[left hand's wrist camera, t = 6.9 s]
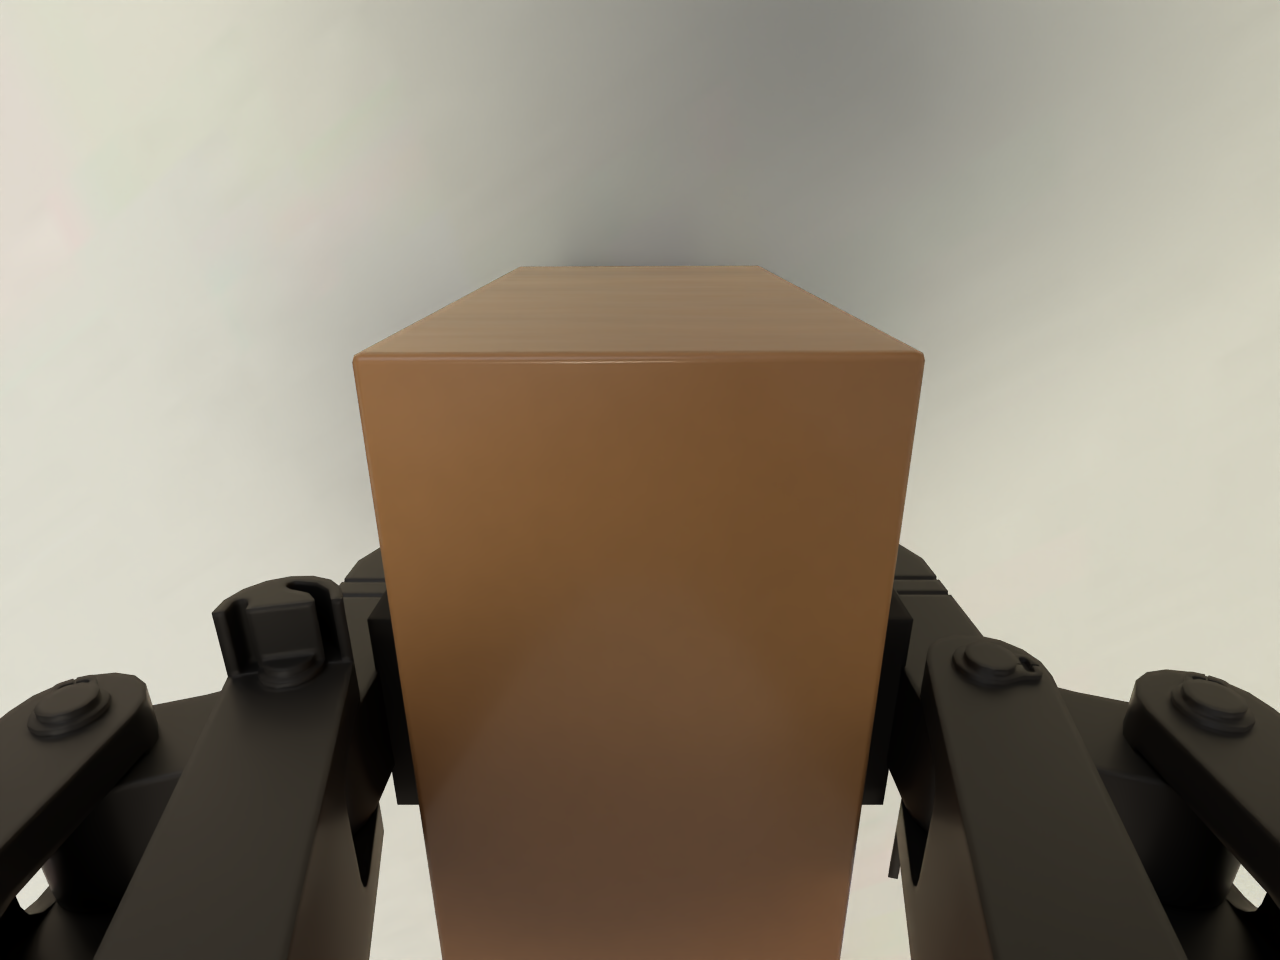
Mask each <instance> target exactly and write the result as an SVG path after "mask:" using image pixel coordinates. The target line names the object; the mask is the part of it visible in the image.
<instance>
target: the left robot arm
mask: <svg viewBox="0 0 1280 960" xmlns="http://www.w3.org/2000/svg"><path fill="white" fill-rule="evenodd" d="M212 616H213V620H214V624H215V628H216V632H217V636H218V640H219V644H220V647H221V651H222V655H223V659H224V663H225V667H226V671H227V675H228V678H227V680H226V682H225V684H224V686H223V688H222V690H221V691H219V692H216V693H212V694H208V695H203V696H198V697H193V698H188V699H183V700H178V701H172V702H167V703H162V704H157V705H152V703H151V699H150V696H149V693H148V690H147V686H146V684H145V683H144V682H143V681H141V680H140V679H139V678H138V677H136V676H135V675H128V674H121V673H108V674H98V675H87V676H83V677H78V678H77V679H75V680H74V679H71V680H68V681H64V682H61V683H59V684H57V685H55V686H54V687H52V688H50V689H47V690H45V691H43V692H41V693H38V694H36V695H34V696H32V697H31V698H29V699H27V700H26V701H24V702H23V703H21V704H20V705H18V706H17V707H15V708H14V709H12V710H11V711H9V712H8V713H7V714H5V715H4V716H3V717H2V718H0V960H369V956H370V947H371V938H372V930H373V921H374V912H375V904H376V895H377V886H378V878H379V869H380V861H381V852H382V843H383V835H384V829H383V822H382V816H381V810H380V805H379V800H380V798H381V796H382V793H383V791H384V789H385V786H386V784H387V782H388V779H389V777H390V775H391V772H392V774H393V780H394V786H395V792H396V798H397V804H398V805H419V801H418V794H417V787H416V781H415V774H414V767H413V761H412V754H411V748H410V741H409V734H408V728H407V721H406V714H405V708H404V701H403V695H402V688H401V681H400V675H399V668H398V661H397V655H396V648H395V642H394V635H393V628H392V622H391V615H390V608H389V602H388V595H387V589H386V582H385V575H384V569H383V562H382V555H381V549H380V548H378V549H377V550H375V551H374V552H372V553H370V554H369V555H367V556H365V557H364V558H362V559H361V560H359V561H358V562H357V563H356V565H355V566H354V567H353V568H352V570H351V571H350V572H349V574H348V575H347V576H346V578H345V582H342V583H341V584H340V585H337V584H336V583H335V582H333V581H332V580H330V579H325V578H320V577H316V576H290V577H285V578H280V579H274V580H269V581H265V582H262V583H259V584H257V585H254V586H251V587H248V588H245V589H243V590H241V591H239V592H238V593H236V594H234V595H232V596H231V597H229V598H227V599H225V600H224V601H223V602H222V603H221V604H220V605H219V606H218V607H217V608H216V609H215V610H214V611H213V612H212ZM889 770H890V772H891V775H892V777H893V779H894V781H895V784H896V786H897V788H898V791H899V793H900V795H901V798H902V799H901V805H900V810H899V816H898V822H897V827H896V833H895V839H894V844H893V850H892V856H891V861H890V868H889V874H888V877H890V878H895V879H898V874H899V869H900V867H901V876H902V885H903V893H904V902H905V911H906V919H907V928H908V937H909V945H910V954H911V960H1280V713H1278V712H1277V711H1276V710H1275V709H1273V708H1272V707H1270V706H1269V705H1267V704H1266V703H1264V702H1263V701H1261V700H1260V699H1258V698H1257V697H1255V696H1253V695H1252V694H1250V693H1249V692H1246V691H1244V690H1242V689H1240V688H1237V687H1235V686H1233V685H1230V684H1228V683H1227V682H1226V681H1224V680H1221V679H1218V678H1215V677H1212V676H1208V677H1207V676H1205V674H1200V673H1195V672H1185V671H1176V670H1159V671H1152V672H1147V673H1145V674H1144V675H1143V676H1141V677H1140V678H1139V679H1137V680H1136V682H1135V685H1134V689H1133V692H1132V695H1131V698H1130V701H1129V702H1124V701H1119V700H1114V699H1109V698H1104V697H1099V696H1094V695H1088V694H1083V693H1078V692H1074V691H1070V690H1066V689H1062V688H1058V687H1057V685H1056V683H1055V681H1054V679H1053V677H1052V675H1051V674H1050V673H1049V671H1048V670H1047V669H1046V668H1045V666H1044V665H1043V664H1042V663H1041V662H1040V661H1039V660H1037V659H1036V658H1034V657H1033V656H1031V655H1030V654H1028V653H1027V652H1026V651H1024V650H1023V649H1020V648H1018V647H1015V646H1013V645H1010V644H1008V643H1006V642H1003V641H1001V640H997V639H992V638H987V637H983V635H982V634H981V633H980V632H979V630H978V629H977V628H976V626H975V625H974V624H973V623H972V621H971V620H970V619H969V617H968V616H967V615H966V614H965V612H964V611H963V610H962V608H961V607H960V606H959V605H958V603H957V602H956V601H955V600H954V598H953V597H952V596H951V595H948V591H947V589H946V588H945V587H944V585H943V584H942V583H941V582H940V580H937V579H936V575H935V574H934V573H933V571H932V570H931V569H930V567H929V566H928V565H927V564H926V562H925V561H924V560H923V559H922V558H921V557H919V556H918V555H916V554H914V553H913V552H911V551H909V550H908V549H906V548H905V547H903V546H901V545H900V544H899V546H898V553H897V560H896V567H895V574H894V582H893V589H892V596H891V603H890V610H889V617H888V624H887V631H886V638H885V645H884V652H883V659H882V666H881V673H880V680H879V687H878V694H877V701H876V708H875V715H874V723H873V730H872V737H871V744H870V751H869V758H868V765H867V772H866V779H865V786H864V793H863V800H862V805H883V801H884V795H885V789H886V783H887V777H888V771H889ZM1240 864H1242V865H1243V867H1244V868H1245V869H1246V870H1247V871H1248V872H1249V873H1250V874H1251V875H1252V876H1253V878H1254V879H1255V880H1256V881H1257V882H1258V883H1259V884H1260V885H1261V886H1262V888H1263V889H1264V890H1265V891H1266V892H1267V893H1266V895H1265V898H1264V900H1263V902H1262V904H1261V905H1260V906H1259V908H1257V907H1255V906H1254V905H1253V904H1252V903H1251V902H1250V901H1249V900H1247V899H1246V898H1245V897H1244V896H1243V894H1242V893H1241V892H1240V891H1239V890H1238V889H1237V888H1236V886H1235V885H1234V884H1233V881H1234V879H1235V876H1236V874H1237V872H1238V869H1239V867H1240ZM41 867H42V870H43V872H44V875H45V877H46V879H47V882H48V884H49V887H48V888H47V889H46V890H45V891H44V892H43V894H42V895H41V896H40V897H39V898H38V899H37V900H36V901H35V902H34V903H33V904H32V905H30V906H29V907H28V908H27V909H26V910H23V909H22V908H21V907H20V905H19V903H18V900H17V898H16V895H17V894H18V893H19V892H20V890H21V889H22V888H23V887H24V886H25V885H26V884H27V883H28V882H29V880H30V879H31V878H32V877H33V876H34V875H35V874H36V873H37V872H38V870H39V869H40V868H41Z"/></svg>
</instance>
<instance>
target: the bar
mask: <svg viewBox="0 0 1280 960" xmlns="http://www.w3.org/2000/svg"><path fill="white" fill-rule="evenodd" d="M352 363H353V370H354V377H355V383H356V390H357V396H358V403H359V410H360V416H361V423H362V430H363V436H364V443H365V449H366V456H367V463H368V469H369V476H370V483H371V489H372V496H373V502H374V509H375V516H376V522H377V529H378V536H379V542H380V549H381V555H382V562H383V569H384V575H385V582H386V589H387V595H388V602H389V608H390V615H391V622H392V628H393V635H394V642H395V648H396V655H397V661H398V668H399V675H400V681H401V688H402V695H403V701H404V708H405V714H406V721H407V728H408V734H409V741H410V748H411V754H412V761H413V767H414V774H415V781H416V787H417V794H418V801H419V807H420V814H421V820H422V827H423V834H424V840H425V847H426V854H427V860H428V867H429V873H430V880H431V887H432V893H433V900H434V907H435V913H436V920H437V926H438V933H439V940H440V946H441V953H442V960H840V955H841V948H842V941H843V934H844V927H845V920H846V913H847V906H848V899H849V892H850V885H851V878H852V871H853V864H854V857H855V849H856V842H857V835H858V828H859V821H860V814H861V807H862V800H863V793H864V786H865V779H866V772H867V765H868V758H869V751H870V744H871V737H872V730H873V723H874V715H875V708H876V701H877V694H878V687H879V680H880V673H881V666H882V659H883V652H884V645H885V638H886V631H887V624H888V617H889V610H890V603H891V596H892V589H893V582H894V574H895V567H896V560H897V553H898V546H899V539H900V532H901V525H902V518H903V511H904V504H905V497H906V490H907V483H908V476H909V469H910V462H911V455H912V448H913V441H914V433H915V426H916V419H917V412H918V405H919V398H920V391H921V384H922V377H923V370H924V363H925V359H924V355H923V353H922V352H920V351H918V350H916V349H914V348H912V347H911V346H909V345H907V344H905V343H903V342H901V341H899V340H897V339H895V338H894V337H892V336H890V335H888V334H886V333H884V332H882V331H880V330H879V329H877V328H875V327H873V326H871V325H869V324H867V323H865V322H863V321H862V320H860V319H858V318H856V317H854V316H852V315H850V314H848V313H846V312H845V311H843V310H841V309H839V308H837V307H835V306H833V305H831V304H829V303H828V302H826V301H824V300H822V299H820V298H818V297H816V296H814V295H813V294H811V293H809V292H807V291H805V290H803V289H801V288H799V287H797V286H796V285H794V284H792V283H790V282H788V281H786V280H784V279H782V278H780V277H779V276H777V275H775V274H773V273H771V272H769V271H767V270H765V269H763V268H762V267H759V266H564V267H519V268H517V269H515V270H513V271H511V272H509V273H507V274H506V275H504V276H502V277H500V278H498V279H496V280H494V281H492V282H491V283H489V284H487V285H485V286H483V287H481V288H479V289H477V290H476V291H474V292H472V293H470V294H468V295H466V296H464V297H462V298H461V299H459V300H457V301H455V302H453V303H451V304H449V305H447V306H446V307H444V308H442V309H440V310H438V311H436V312H434V313H432V314H431V315H429V316H427V317H425V318H423V319H421V320H419V321H417V322H416V323H414V324H412V325H410V326H408V327H406V328H404V329H402V330H401V331H399V332H397V333H395V334H393V335H391V336H389V337H387V338H386V339H384V340H382V341H380V342H378V343H376V344H374V345H372V346H371V347H369V348H367V349H365V350H363V351H361V352H359V353H357V354H356V355H354V358H353V362H352Z"/></svg>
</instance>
